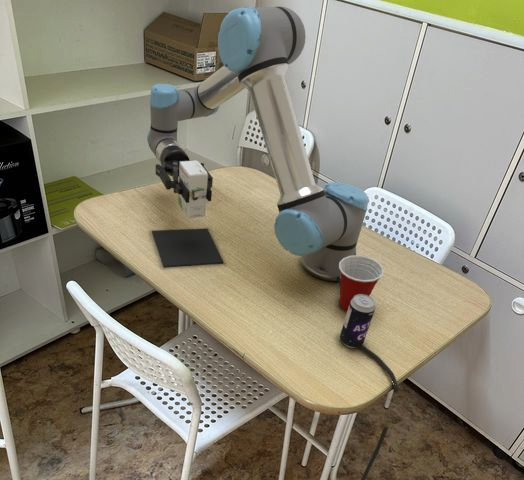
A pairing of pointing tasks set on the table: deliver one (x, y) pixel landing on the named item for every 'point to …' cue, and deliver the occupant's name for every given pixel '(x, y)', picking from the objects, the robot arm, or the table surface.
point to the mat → (186, 247)
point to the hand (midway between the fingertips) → (199, 196)
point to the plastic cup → (358, 277)
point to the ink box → (193, 188)
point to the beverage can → (357, 320)
